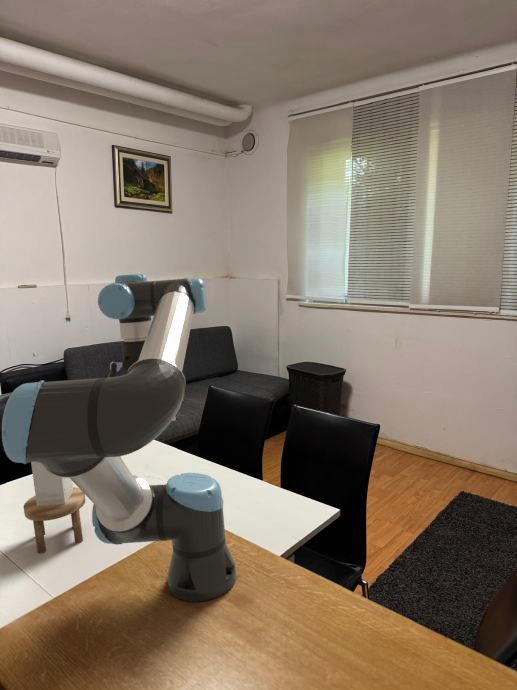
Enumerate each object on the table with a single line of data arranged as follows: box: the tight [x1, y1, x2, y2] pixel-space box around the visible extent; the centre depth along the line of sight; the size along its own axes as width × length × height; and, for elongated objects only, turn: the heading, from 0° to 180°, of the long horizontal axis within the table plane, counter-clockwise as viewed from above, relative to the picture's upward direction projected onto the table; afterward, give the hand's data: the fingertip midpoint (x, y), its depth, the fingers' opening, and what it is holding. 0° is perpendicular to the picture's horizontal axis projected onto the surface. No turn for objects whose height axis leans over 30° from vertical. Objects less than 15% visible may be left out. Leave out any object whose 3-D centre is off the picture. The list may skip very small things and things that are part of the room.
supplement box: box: [30, 462, 74, 506], centre depth 126 cm, size 7×7×13 cm
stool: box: [23, 486, 86, 555], centre depth 127 cm, size 15×15×11 cm
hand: (146, 424), depth 118 cm, fingers open, 13 cm apart
